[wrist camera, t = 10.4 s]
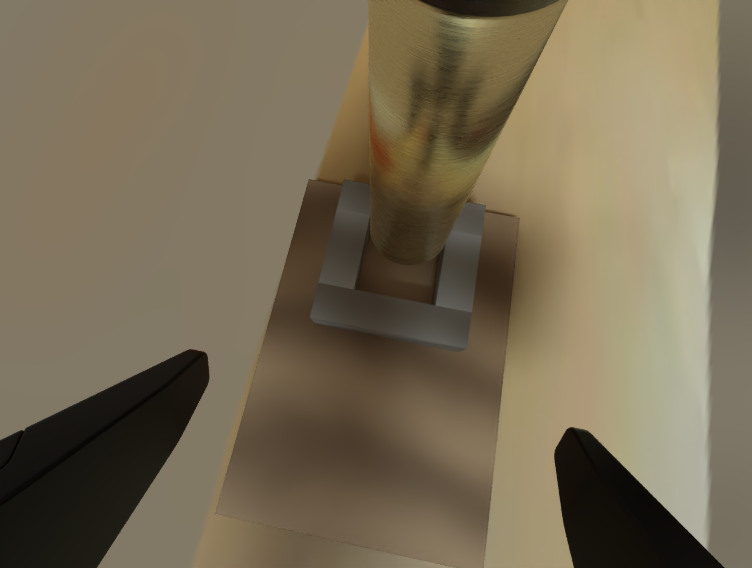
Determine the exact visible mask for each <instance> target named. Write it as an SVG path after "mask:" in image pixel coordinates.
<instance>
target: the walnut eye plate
mask: <svg viewBox="0 0 752 568" xmlns="http://www.w3.org/2000/svg"><path fill="white" fill-rule="evenodd" d="M485 208H486V205H481V204H475V203H470V202H466V204H465V206H464V208H463V210H462V211H461V213H460V215H459V217H458V219H457V221H456V223H455V225H454V227H453V229H452V231H451V233H450V235H449V237H448V239H447V241H446V243H445V245H444V247H443V249H442V250H441V251H440V253H439V254H438V255H436V256H435V257H434V258H433V259H431V260H429V261H427V262H425V263H422V264H418V265H402V264H398V263H395V262H393V261H391V260H389V259H387V258H386V257H384V256H383V255H382V254H381V253H380V252H379V251H378V250H377V248H376V247H375V245H374V243H373V241H372V238H371V234H370V184H366V183H361V182H355V181H350V180H345V179H344V183H343V185H337V184H332V183H326V182H321V181H315V180H310V179H309V181H308V184H307V188H306V191H305V195H304V198H303V202H302V206H301V209H300V213H299V216H298V220H297V223H296V227H295V230H294V234H293V238H292V241H291V245H290V248H289V252H288V255H287V259H286V263H285V266H284V270H283V273H282V277H281V280H280V284H279V288H278V291H277V295H276V298H275V302H274V305H273V309H272V313H271V316H270V320H269V323H268V327H267V330H266V334H265V338H264V341H263V345H262V348H261V352H260V355H259V359H258V363H257V366H256V370H255V373H254V377H253V380H252V384H251V388H250V391H249V395H248V398H247V402H246V405H245V409H244V413H243V416H242V420H241V423H240V427H239V430H238V434H237V438H236V441H235V445H234V448H233V452H232V455H231V459H230V463H229V466H228V470H227V473H226V477H225V480H224V484H223V488H222V491H221V495H220V498H219V502H218V505H217V509H216V513H215V514H218V515H222V516H227V517H231V518H236V519H240V520H245V521H249V522H253V523H258V524H262V525H267V526H271V527H276V528H280V529H285V530H289V531H294V532H298V533H303V534H307V535H311V536H316V537H320V538H325V539H329V540H334V541H338V542H343V543H347V544H352V545H356V546H361V547H365V548H369V549H374V550H378V551H383V552H387V553H392V554H396V555H401V556H405V557H410V558H414V559H418V560H423V561H427V562H432V563H436V564H441V565H445V566H450V567H454V568H484V560H485V550H486V540H487V531H488V521H489V511H490V501H491V491H492V482H493V472H494V462H495V452H496V443H497V433H498V423H499V413H500V403H501V394H502V384H503V374H504V364H505V355H506V345H507V335H508V325H509V315H510V306H511V296H512V286H513V276H514V267H515V257H516V247H517V237H518V227H519V218H516V217H511V216H505V215H500V214H495V213H489V212H485Z"/></svg>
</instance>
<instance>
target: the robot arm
mask: <svg viewBox="0 0 752 568" xmlns="http://www.w3.org/2000/svg"><path fill="white" fill-rule="evenodd" d="M208 382H209V366H208V356H207V354H206V353H205V352H202V351H198V350H193V349H189V350H187V351H185V352H182V353H180V354H178V355H176V356H174V357H172V358H170V359H168V360H166V361H164V362H161V363H160V364H157V365H155V366H153V367H151V368H149V369H147V370H145V371H143V372H141V373H139V374H137V375H134V376H132V377H130V378H128V379H126V380H124V381H122V382H120V383H118V384H116V385H114V386H112V387H110V388H108V389H105V390H104V391H101V392H99V393H97V394H96V395H93V396H91V397H89V398H87V399H85V400H83V401H81V402H79V403H77V404H74V405H72V406H70V407H68V408H66V409H64V410H62V411H60V412H58V413H56V414H54V415H52V416H50V417H48V418H45V419H43V420H41V421H39V422H37V423H35V424H33V425H31V426H29V427H27V428H25V430H24V431H23V430H21V431H18V432H16V433H14V434H12V435H10V436H8V437H6V438H4V439H2V440H0V568H97V567H98V565H99V564H100V562H101V561H102V559H103V558H104V556H105V554H106V553H107V551H108V550H109V548H110V547H111V545H112V544H113V542H114V541H115V539H116V537H117V536H118V534H119V533H120V531H121V530H122V528H123V527H124V525H125V524H126V522H127V521H128V519H129V517H130V516H131V514H132V513H133V511H134V510H135V508H136V507H137V505H138V504H139V502H140V500H141V499H142V497H143V496H144V494H145V493H146V491H147V490H148V488H149V487H150V485H151V483H152V482H153V480H154V479H155V477H156V476H157V474H158V473H159V471H160V470H161V468H162V467H163V465H164V464H165V462H166V460H167V459H168V457H169V456H170V454H171V453H172V451H173V449H174V448H175V446H176V445H177V443H178V441H179V440H180V438H181V436H182V434H183V432H184V430H185V428H186V426H187V424H188V423H189V420H190V419H191V417H192V415H193V413H194V411H195V409H196V407H197V405H198V403H199V401H200V399H201V397H202V395H203V393H204V391H205V389H206V387H207V385H208ZM554 459H555V467H556V474H557V481H558V489H559V496H560V503H561V511H562V517H563V523H564V528H565V532H566V537H567V541H568V545H569V549H570V553H571V557H572V562H573V566H574V568H724V567H723V566H722V565H721V564H720V563H719V562H718V561H717V560H716V559H715V558H714V557H713V556H712V555H711V554H710V553H709V552H708V551H707V550H706V549H705V548H704V547H703V546H702V545H701V544H700V543H699V542H698V541H697V540H696V539H695V538H694V537H693V536H692V535H691V534H690V533H689V532H688V531H687V530H686V529H685V528H684V527H683V526H682V525H681V524H680V523H679V522H678V521H677V519H676V518H675V517H674V516H673V515H672V514H671V513H670V512H669V511H668V510H667V509H666V508H665V507H664V506H663V505H662V504H661V503H660V502H659V501H658V500H657V499H656V498H655V497H654V496H653V495H652V494H651V493H650V492H649V491H648V490H647V489H646V488H645V487H644V486H643V485H642V484H641V483H640V482H639V481H638V480H637V479H636V478H635V477H634V476H633V475H632V474H631V473H630V472H629V471H628V470H627V469H626V468H625V467H624V466H623V465H622V464H621V463H620V462H619V461H618V460H617V459H616V458H615V457H614V456H613V455H612V454H611V453H610V452H609V451H608V450H607V449H606V448H605V447H604V446H603V445H602V444H601V443H600V442H599V441H598V440H597V439H596V438H595V437H594V436H593V435H592V434H591V433H590V432H588V431H587V430H584V429H579V428H574V427H570V428H568V429H567V430H566V431H565V433H564V435H563V437H562V438H561V440H560V442H559V444H558V445H557V447H556V449H555V454H554Z"/></svg>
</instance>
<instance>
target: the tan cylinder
mask: <svg viewBox="0 0 752 568" xmlns="http://www.w3.org/2000/svg"><path fill="white" fill-rule="evenodd" d="M567 2H568V0H369V152H370V234H371V238H372V241H373V243H374V245H375V247H376V248H377V250H378V251H379V252H380V253H381V254H382V255H383V256H384V257H386V258H387V259H389V260H391V261H393V262H395V263H398V264H402V265H418V264H422V263H425V262H427V261H429V260H431V259H433V258H434V257H435V256H436V255H438V254H439V253H440V251H441V250H442V249H443V247H444V245H445V243H446V241H447V239H448V237H449V235H450V233H451V231H452V229H453V227H454V225H455V223H456V221H457V219H458V217H459V215H460V213H461V211H462V210H463V208H464V206H465V204H466V202H467V200H468V198H469V196H470V194H471V192H472V190H473V188H474V186H475V184H476V182H477V180H478V178H479V176H480V174H481V172H482V170H483V168H484V166H485V164H486V162H487V160H488V158H489V156H490V154H491V152H492V150H493V148H494V146H495V144H496V142H497V140H498V138H499V136H500V134H501V132H502V130H503V128H504V126H505V124H506V122H507V120H508V118H509V116H510V114H511V112H512V110H513V108H514V107H515V105H516V103H517V101H518V99H519V97H520V95H521V93H522V91H523V89H524V87H525V85H526V83H527V81H528V79H529V77H530V75H531V73H532V71H533V69H534V67H535V65H536V63H537V61H538V59H539V57H540V55H541V53H542V51H543V49H544V47H545V45H546V43H547V41H548V39H549V37H550V35H551V33H552V31H553V29H554V27H555V25H556V23H557V21H558V19H559V17H560V15H561V13H562V11H563V9H564V7H565V5H566V4H567Z"/></svg>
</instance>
